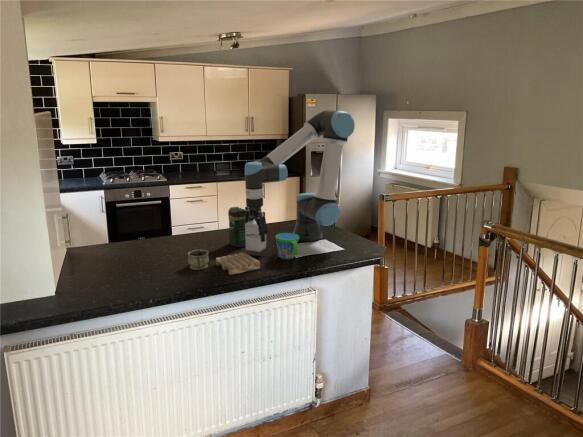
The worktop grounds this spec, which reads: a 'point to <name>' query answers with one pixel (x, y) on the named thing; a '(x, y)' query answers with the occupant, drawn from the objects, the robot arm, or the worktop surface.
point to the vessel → (198, 259)
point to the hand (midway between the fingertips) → (256, 245)
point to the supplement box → (252, 236)
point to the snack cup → (287, 245)
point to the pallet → (238, 263)
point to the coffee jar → (236, 227)
